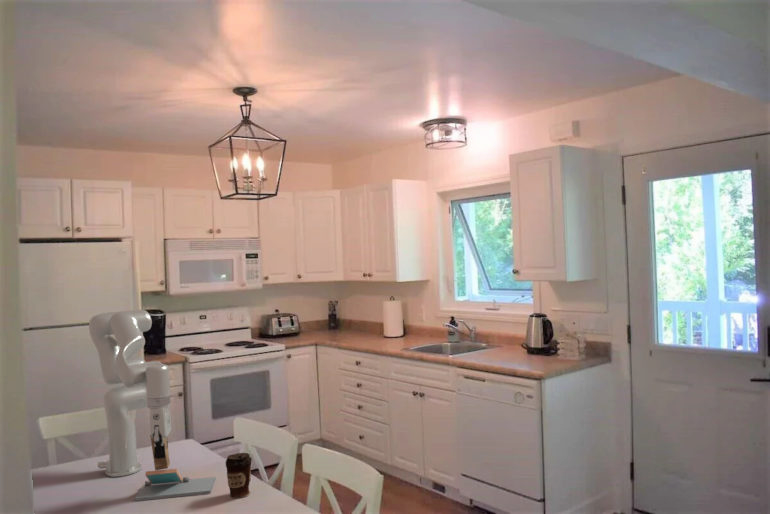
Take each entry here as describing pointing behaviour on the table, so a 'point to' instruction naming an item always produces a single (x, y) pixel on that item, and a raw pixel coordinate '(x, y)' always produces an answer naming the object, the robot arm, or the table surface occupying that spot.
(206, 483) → the board
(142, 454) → the table surface
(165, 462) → the walnut block
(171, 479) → the tile
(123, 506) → the table surface
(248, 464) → the coffee cup
